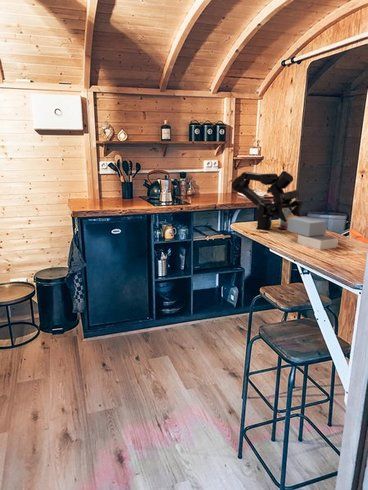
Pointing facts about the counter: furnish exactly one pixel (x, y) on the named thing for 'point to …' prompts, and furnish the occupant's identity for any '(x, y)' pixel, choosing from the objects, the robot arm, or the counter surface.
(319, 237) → the carton base
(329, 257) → the counter surface
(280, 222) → the snack box
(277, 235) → the counter surface
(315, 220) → the grey boxy piece
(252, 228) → the counter surface
